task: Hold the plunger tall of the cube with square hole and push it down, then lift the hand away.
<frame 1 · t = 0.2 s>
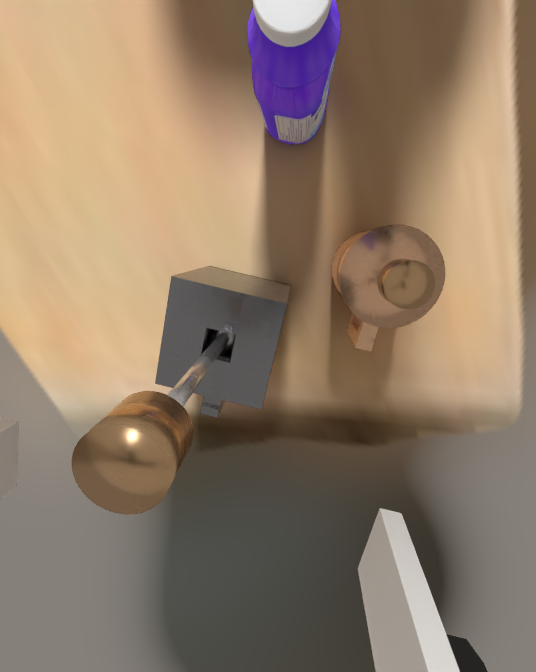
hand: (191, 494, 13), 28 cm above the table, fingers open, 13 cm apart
cube with square hole: (241, 315, 40), on the table
bottle: (295, 108, 35), on the table
plunger tall: (194, 375, 22), point 19 cm above the table, slide at 0.0 cm
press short: (368, 269, 38), on the table
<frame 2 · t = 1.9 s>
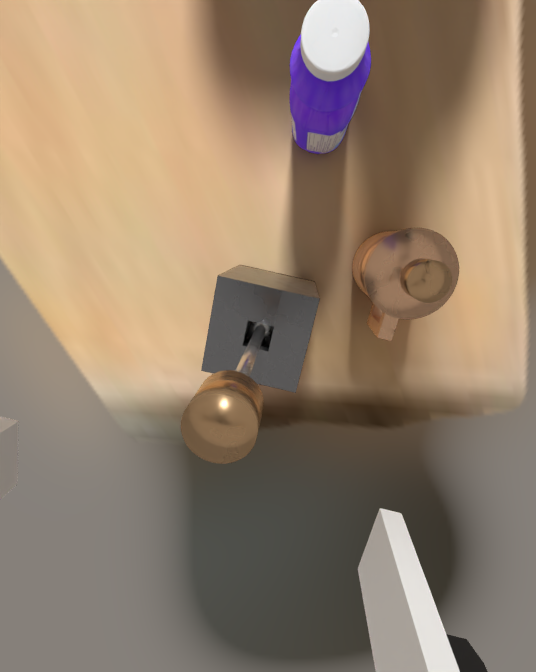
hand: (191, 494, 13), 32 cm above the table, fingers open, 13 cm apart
cube with square hole: (269, 309, 44), on the table
bottle: (320, 120, 38), on the table
plunger tall: (247, 361, 26), point 19 cm above the table, slide at 0.0 cm
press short: (386, 266, 41), on the table
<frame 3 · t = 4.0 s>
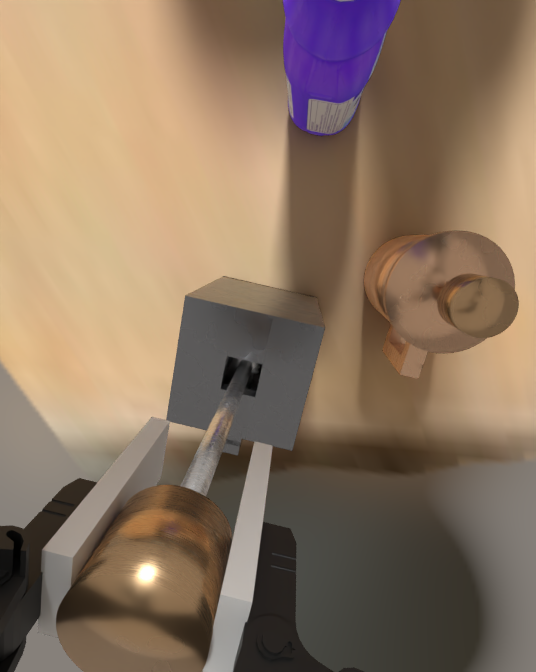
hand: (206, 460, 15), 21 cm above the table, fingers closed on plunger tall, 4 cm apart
cube with square hole: (260, 331, 35), on the table
bottle: (324, 94, 30), on the table
plunger tall: (219, 428, 17), point 19 cm above the table, slide at 0.0 cm, touching gripper
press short: (406, 278, 33), on the table
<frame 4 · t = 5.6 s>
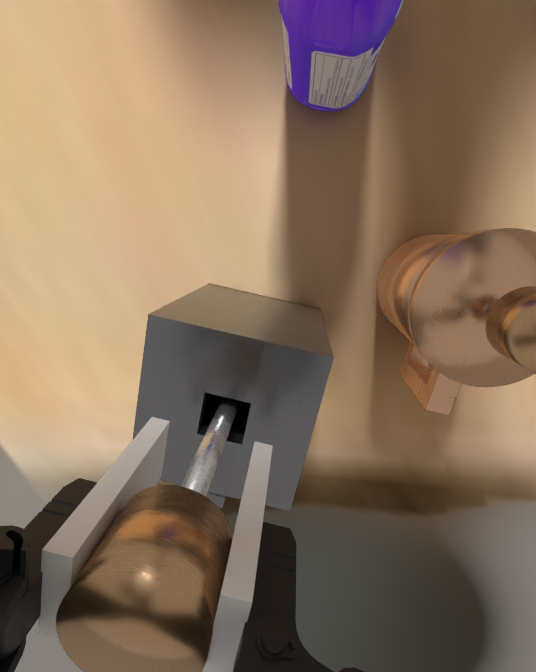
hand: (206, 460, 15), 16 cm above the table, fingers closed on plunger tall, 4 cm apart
cube with square hole: (253, 348, 30), on the table
bottle: (330, 61, 24), on the table
plunger tall: (219, 428, 17), point 13 cm above the table, slide at 5.8 cm, touching gripper
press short: (428, 286, 27), on the table
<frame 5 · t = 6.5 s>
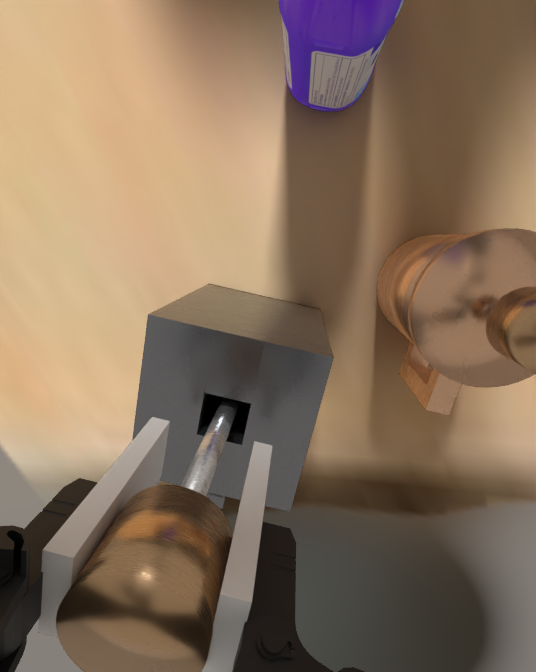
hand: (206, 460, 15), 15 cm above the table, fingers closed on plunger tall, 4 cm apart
cube with square hole: (252, 349, 30), on the table
bottle: (329, 61, 24), on the table
plunger tall: (219, 428, 17), point 13 cm above the table, slide at 5.8 cm, touching gripper
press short: (428, 286, 27), on the table
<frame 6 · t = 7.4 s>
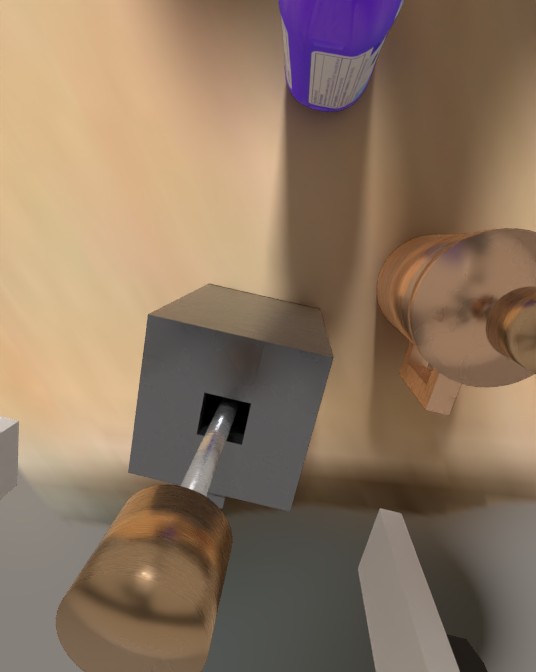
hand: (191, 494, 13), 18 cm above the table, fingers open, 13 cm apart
cube with square hole: (252, 349, 30), on the table
bottle: (329, 61, 24), on the table
plunger tall: (219, 428, 17), point 13 cm above the table, slide at 5.8 cm
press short: (428, 286, 27), on the table
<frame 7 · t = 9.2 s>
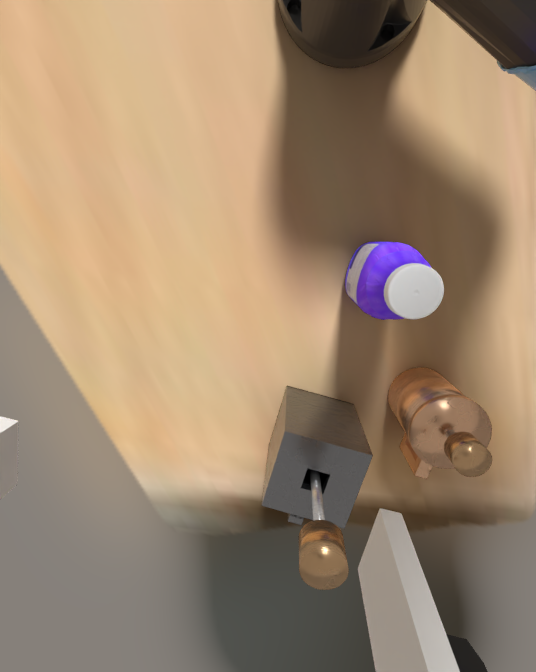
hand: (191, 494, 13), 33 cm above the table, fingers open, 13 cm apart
cube with square hole: (310, 424, 48), on the table
bottle: (368, 273, 43), on the table
plunger tall: (316, 487, 36), point 13 cm above the table, slide at 5.8 cm
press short: (418, 395, 46), on the table
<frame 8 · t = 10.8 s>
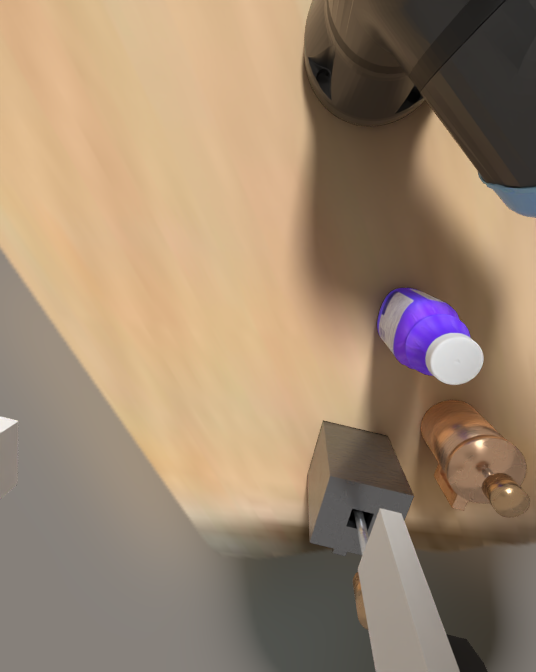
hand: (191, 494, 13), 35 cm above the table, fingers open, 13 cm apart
cube with square hole: (346, 455, 51), on the table
bottle: (399, 314, 45), on the table
plunger tall: (361, 526, 38), point 13 cm above the table, slide at 5.8 cm
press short: (450, 426, 48), on the table
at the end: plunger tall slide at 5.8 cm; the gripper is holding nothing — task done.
